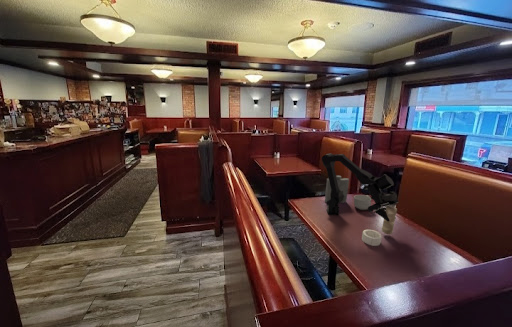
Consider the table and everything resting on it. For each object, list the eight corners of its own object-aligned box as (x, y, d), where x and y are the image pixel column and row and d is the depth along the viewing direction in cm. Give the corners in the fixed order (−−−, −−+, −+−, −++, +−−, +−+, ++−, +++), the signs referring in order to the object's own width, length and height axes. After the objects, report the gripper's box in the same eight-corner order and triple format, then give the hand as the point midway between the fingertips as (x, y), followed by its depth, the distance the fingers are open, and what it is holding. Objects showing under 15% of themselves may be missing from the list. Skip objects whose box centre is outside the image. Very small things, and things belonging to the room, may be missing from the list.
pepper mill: (383, 233, 120) (388, 206, 116) (380, 228, 124) (385, 202, 120) (393, 234, 119) (399, 207, 115) (390, 229, 124) (395, 203, 120)
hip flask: (344, 200, 166) (348, 174, 161) (347, 202, 162) (350, 176, 157) (324, 201, 165) (326, 175, 160) (326, 203, 161) (328, 177, 156)
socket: (364, 244, 114) (365, 237, 113) (360, 235, 122) (361, 228, 121) (382, 246, 112) (383, 239, 111) (376, 237, 120) (378, 230, 119)
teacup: (362, 213, 147) (364, 201, 145) (349, 206, 157) (350, 195, 155) (376, 208, 154) (378, 198, 152) (362, 202, 163) (364, 192, 161)
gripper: (376, 190, 114) (393, 219, 108) (398, 184, 123) (415, 211, 116) (360, 198, 123) (376, 225, 117) (382, 192, 132) (397, 218, 125)
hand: (391, 220), depth 118 cm, fingers closed on pepper mill, 5 cm apart
